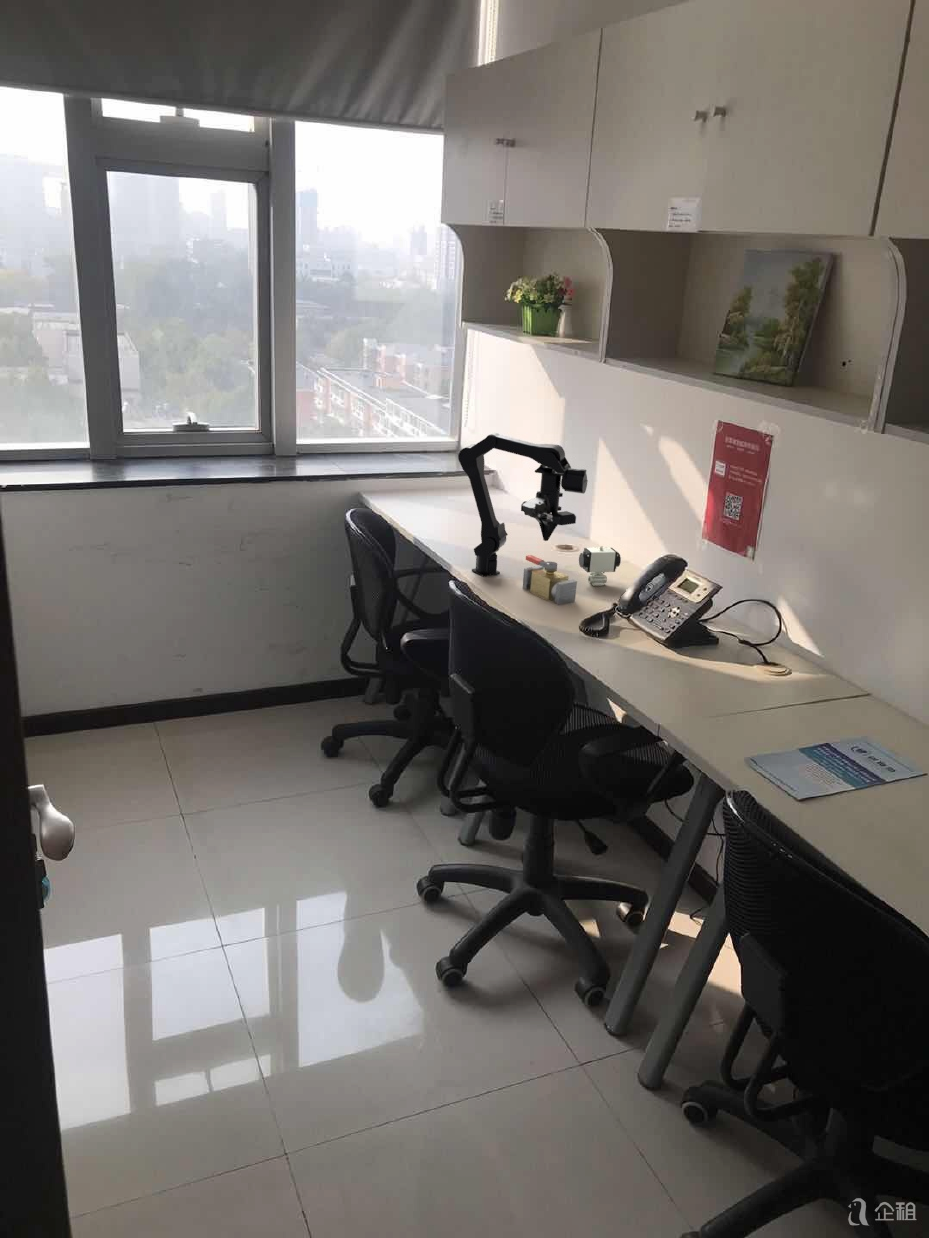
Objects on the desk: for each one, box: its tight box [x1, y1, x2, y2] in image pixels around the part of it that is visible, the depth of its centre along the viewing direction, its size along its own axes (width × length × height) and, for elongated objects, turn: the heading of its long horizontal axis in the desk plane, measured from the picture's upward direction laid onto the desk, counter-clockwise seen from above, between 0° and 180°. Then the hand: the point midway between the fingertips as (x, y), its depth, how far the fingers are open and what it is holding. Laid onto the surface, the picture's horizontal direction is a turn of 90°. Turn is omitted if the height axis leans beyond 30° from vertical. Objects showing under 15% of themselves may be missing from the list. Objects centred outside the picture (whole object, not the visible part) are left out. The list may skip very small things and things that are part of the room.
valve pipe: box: [522, 565, 578, 606], centre depth 283 cm, size 16×7×7 cm, turn 36°
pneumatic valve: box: [578, 545, 622, 587], centre depth 294 cm, size 6×12×12 cm, turn 104°
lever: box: [525, 554, 558, 572], centre depth 285 cm, size 12×4×2 cm, turn 35°
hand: (545, 540), depth 291 cm, fingers closed
